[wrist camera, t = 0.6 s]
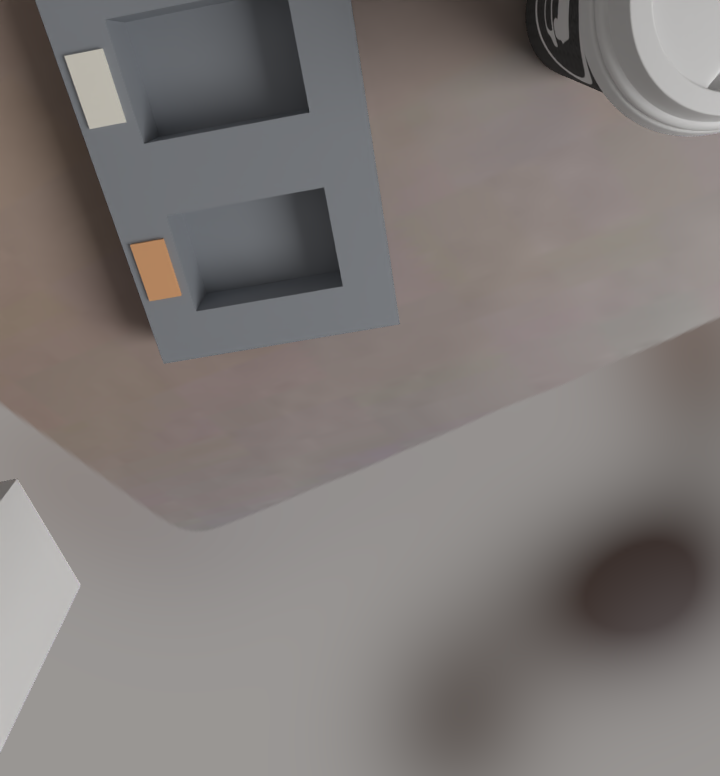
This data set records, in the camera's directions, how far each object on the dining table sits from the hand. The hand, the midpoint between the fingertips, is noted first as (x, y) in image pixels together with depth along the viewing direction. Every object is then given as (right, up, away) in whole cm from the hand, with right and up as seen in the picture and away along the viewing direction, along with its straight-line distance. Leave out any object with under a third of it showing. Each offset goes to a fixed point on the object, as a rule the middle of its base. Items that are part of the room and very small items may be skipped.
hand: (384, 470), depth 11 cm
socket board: (-7, +14, +24) cm, 28 cm away
